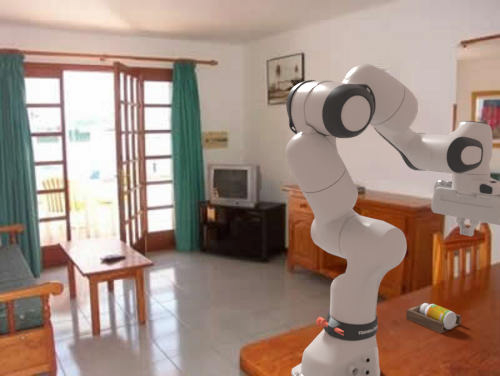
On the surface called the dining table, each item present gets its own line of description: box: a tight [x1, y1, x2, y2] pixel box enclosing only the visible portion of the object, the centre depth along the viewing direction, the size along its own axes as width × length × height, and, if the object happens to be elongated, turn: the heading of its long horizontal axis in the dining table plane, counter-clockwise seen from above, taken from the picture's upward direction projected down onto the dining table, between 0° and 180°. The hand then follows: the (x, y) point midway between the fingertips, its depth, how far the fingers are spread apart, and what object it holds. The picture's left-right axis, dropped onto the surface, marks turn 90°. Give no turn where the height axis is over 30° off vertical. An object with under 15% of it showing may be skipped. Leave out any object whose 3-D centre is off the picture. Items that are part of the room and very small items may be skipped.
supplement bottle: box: [420, 302, 457, 330], centre depth 137 cm, size 5×5×10 cm
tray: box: [405, 302, 462, 334], centre depth 139 cm, size 10×12×3 cm
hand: (466, 235), depth 120 cm, fingers closed
